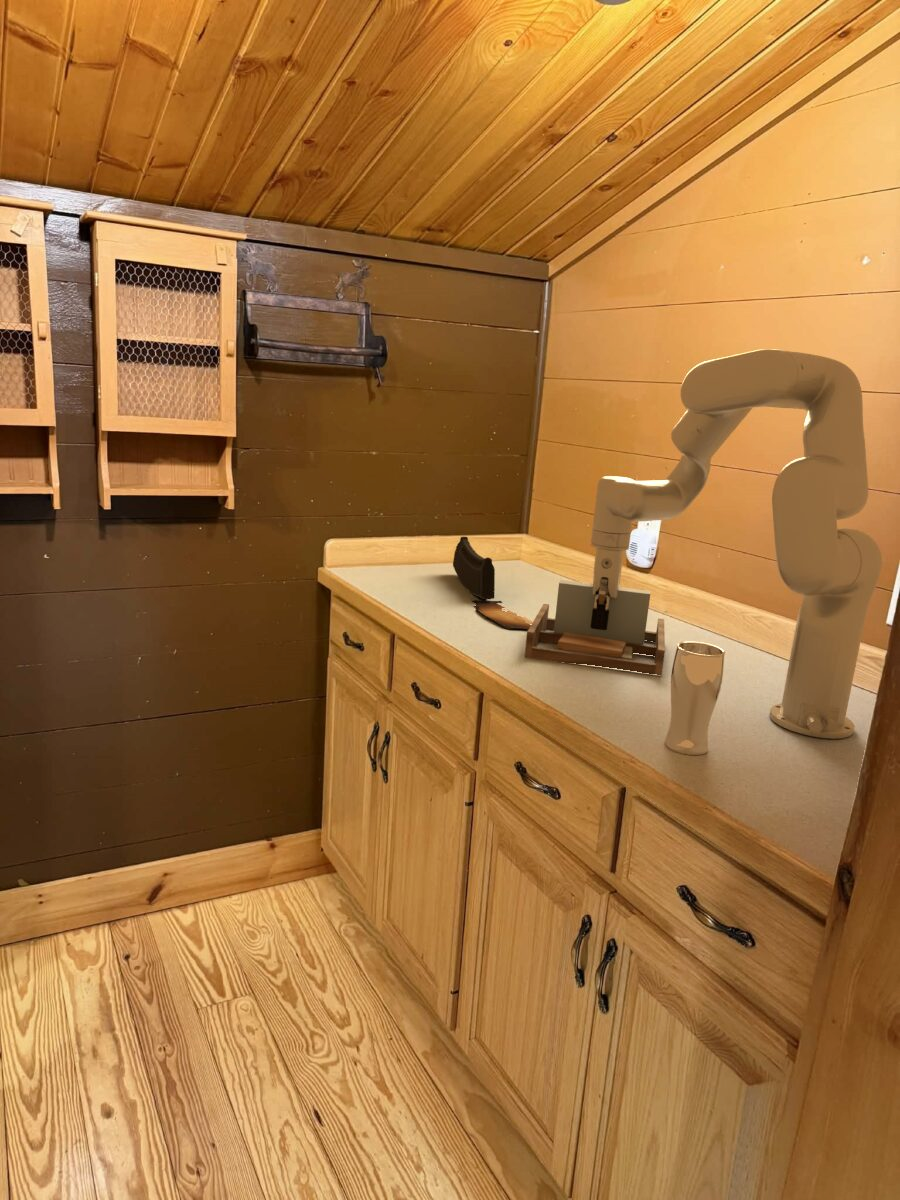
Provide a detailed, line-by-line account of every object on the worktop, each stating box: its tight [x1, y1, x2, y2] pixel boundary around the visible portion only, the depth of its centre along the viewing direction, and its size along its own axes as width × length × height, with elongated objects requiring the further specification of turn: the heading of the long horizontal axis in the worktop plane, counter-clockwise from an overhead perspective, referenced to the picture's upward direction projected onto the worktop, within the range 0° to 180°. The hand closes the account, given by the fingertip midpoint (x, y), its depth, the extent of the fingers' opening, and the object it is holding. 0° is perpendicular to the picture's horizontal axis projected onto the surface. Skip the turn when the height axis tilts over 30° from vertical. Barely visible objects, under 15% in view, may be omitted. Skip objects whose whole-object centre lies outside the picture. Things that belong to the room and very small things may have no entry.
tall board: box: [553, 579, 651, 645], centre depth 169 cm, size 3×18×12 cm, turn 76°
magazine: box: [452, 536, 496, 600], centre depth 209 cm, size 17×3×30 cm
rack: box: [524, 603, 666, 676], centre depth 166 cm, size 24×25×5 cm
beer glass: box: [664, 641, 726, 756], centre depth 120 cm, size 7×7×15 cm
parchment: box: [471, 599, 533, 631], centre depth 187 cm, size 25×10×1 cm, turn 19°
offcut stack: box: [557, 632, 634, 660], centre depth 161 cm, size 8×14×4 cm, turn 74°
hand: (600, 623), depth 170 cm, fingers open, 9 cm apart
